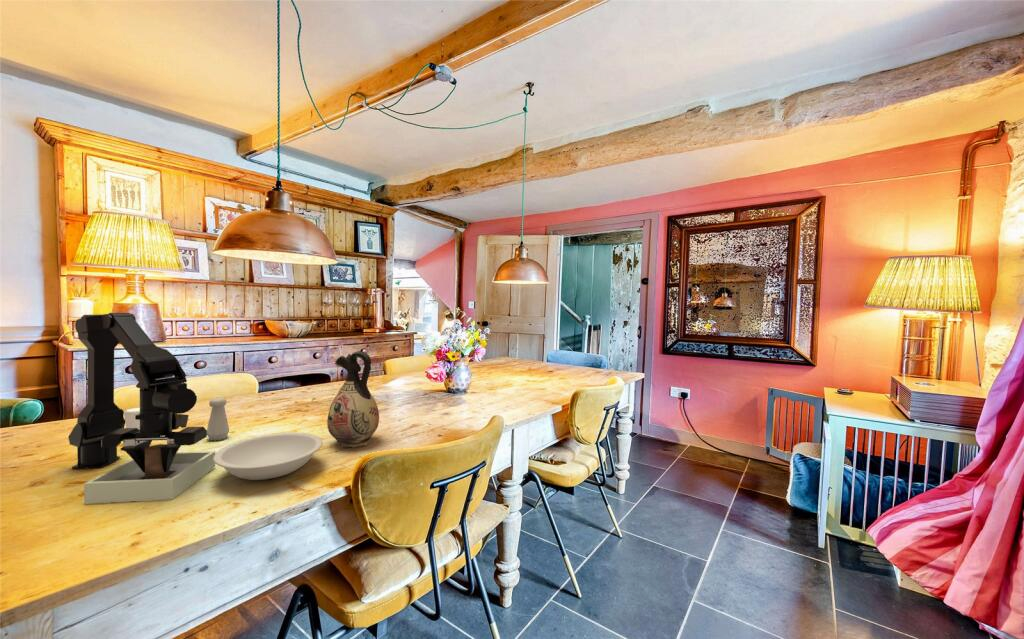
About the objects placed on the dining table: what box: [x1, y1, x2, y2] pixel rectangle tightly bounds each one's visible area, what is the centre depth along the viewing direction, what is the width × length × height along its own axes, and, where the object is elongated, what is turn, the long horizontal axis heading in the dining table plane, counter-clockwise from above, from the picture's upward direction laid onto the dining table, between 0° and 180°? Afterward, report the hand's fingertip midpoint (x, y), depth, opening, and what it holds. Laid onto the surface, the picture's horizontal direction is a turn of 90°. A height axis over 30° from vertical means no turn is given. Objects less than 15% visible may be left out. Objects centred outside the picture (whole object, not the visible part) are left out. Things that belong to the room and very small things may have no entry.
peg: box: [145, 443, 168, 479], centre depth 92 cm, size 4×4×8 cm
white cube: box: [123, 406, 140, 430], centre depth 128 cm, size 7×7×7 cm
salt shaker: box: [206, 397, 230, 442], centre depth 122 cm, size 6×6×13 cm
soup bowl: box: [213, 432, 323, 481], centre depth 101 cm, size 24×24×7 cm
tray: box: [83, 450, 216, 505], centre depth 92 cm, size 17×17×4 cm
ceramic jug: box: [326, 350, 380, 448], centre depth 122 cm, size 17×15×30 cm
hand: (156, 471), depth 92 cm, fingers closed on peg, 4 cm apart
